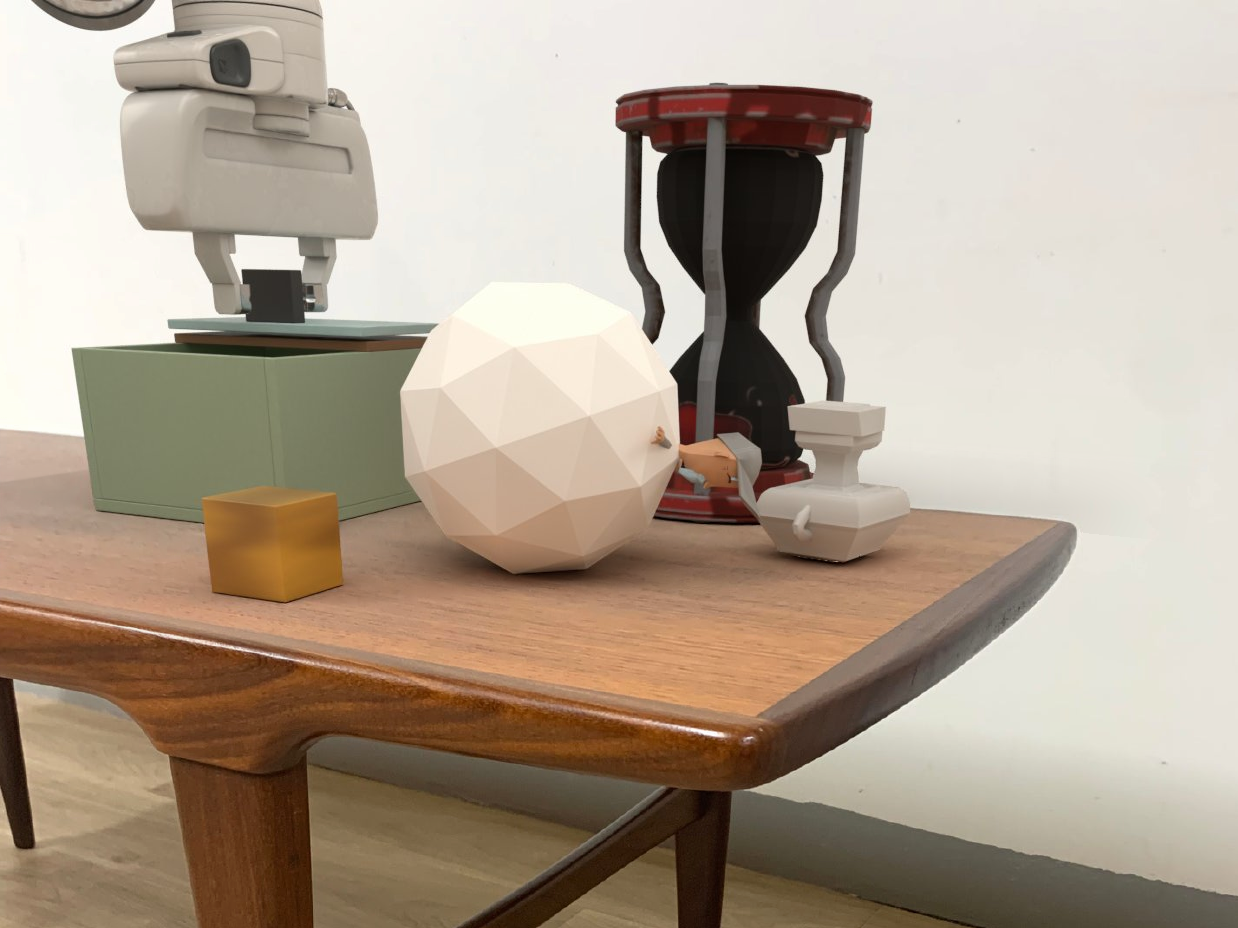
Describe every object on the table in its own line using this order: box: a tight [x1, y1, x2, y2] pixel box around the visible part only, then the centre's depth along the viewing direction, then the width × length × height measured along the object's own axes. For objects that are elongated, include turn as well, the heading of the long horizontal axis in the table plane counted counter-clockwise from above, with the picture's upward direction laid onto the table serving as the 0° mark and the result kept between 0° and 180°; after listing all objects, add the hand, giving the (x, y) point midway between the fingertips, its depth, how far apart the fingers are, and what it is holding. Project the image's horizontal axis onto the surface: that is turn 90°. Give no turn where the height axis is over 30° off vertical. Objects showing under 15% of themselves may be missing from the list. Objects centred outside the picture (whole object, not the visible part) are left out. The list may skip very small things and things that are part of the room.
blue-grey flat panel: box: [166, 268, 440, 337], centre depth 87 cm, size 16×9×4 cm, turn 65°
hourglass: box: [614, 82, 874, 524], centre depth 86 cm, size 16×16×25 cm
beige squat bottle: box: [757, 400, 911, 563], centre depth 73 cm, size 9×7×8 cm
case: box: [71, 331, 428, 524], centre depth 87 cm, size 16×18×11 cm
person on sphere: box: [400, 281, 762, 575], centre depth 68 cm, size 14×15×20 cm
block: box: [202, 486, 344, 603], centre depth 64 cm, size 5×5×5 cm
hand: (274, 313), depth 85 cm, fingers open, 6 cm apart
